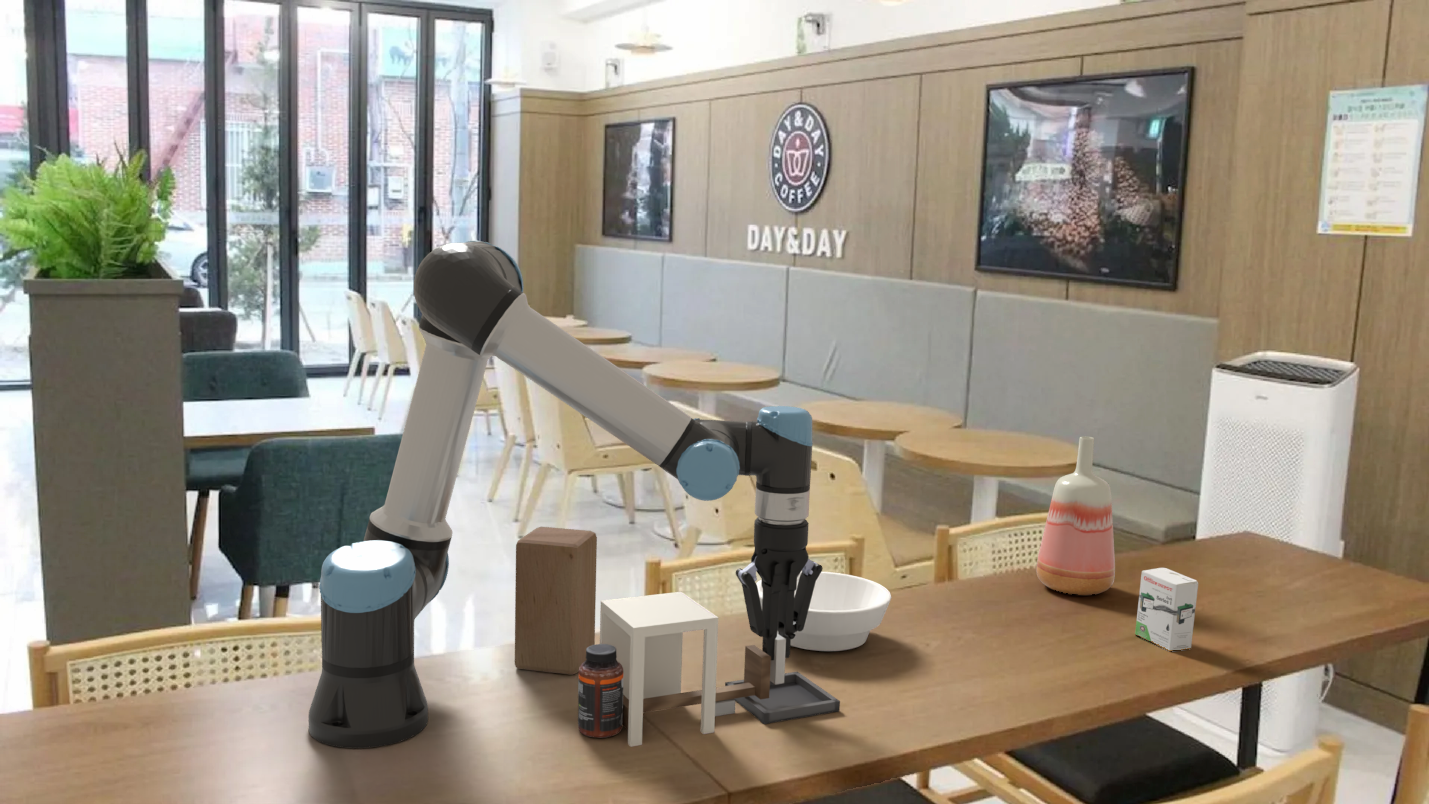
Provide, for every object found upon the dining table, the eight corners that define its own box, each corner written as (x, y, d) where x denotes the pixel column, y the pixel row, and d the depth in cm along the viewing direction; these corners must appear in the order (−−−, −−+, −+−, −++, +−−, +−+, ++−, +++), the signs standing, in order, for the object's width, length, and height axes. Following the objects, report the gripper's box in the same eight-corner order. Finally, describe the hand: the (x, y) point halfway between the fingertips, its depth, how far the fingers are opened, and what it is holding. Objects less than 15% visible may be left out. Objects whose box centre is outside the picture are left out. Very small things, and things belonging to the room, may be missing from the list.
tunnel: (630, 746, 154) (633, 627, 152) (598, 712, 165) (600, 600, 162) (750, 726, 162) (755, 612, 159) (712, 694, 172) (716, 587, 170)
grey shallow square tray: (764, 724, 163) (764, 713, 162) (724, 692, 173) (725, 682, 173) (839, 711, 168) (840, 701, 168) (796, 681, 178) (797, 671, 178)
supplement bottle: (631, 727, 160) (633, 646, 158) (606, 743, 155) (608, 660, 153) (594, 717, 163) (595, 637, 161) (568, 733, 158) (569, 650, 156)
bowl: (733, 650, 191) (735, 599, 190) (775, 610, 212) (777, 564, 211) (871, 672, 183) (874, 620, 182) (901, 628, 204) (903, 581, 203)
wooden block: (576, 677, 177) (578, 546, 174) (512, 670, 179) (513, 540, 176) (596, 654, 187) (598, 529, 184) (535, 648, 188) (536, 524, 186)
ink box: (1133, 635, 205) (1139, 568, 203) (1155, 632, 206) (1161, 566, 205) (1170, 652, 197) (1176, 583, 195) (1193, 649, 199) (1200, 580, 197)
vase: (1116, 585, 234) (1129, 435, 230) (1108, 605, 221) (1122, 447, 217) (1041, 574, 240) (1052, 428, 236) (1029, 593, 227) (1040, 439, 222)
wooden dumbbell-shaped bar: (631, 734, 157) (632, 679, 156) (612, 714, 163) (613, 661, 162) (772, 710, 166) (774, 659, 165) (748, 692, 172) (750, 642, 171)
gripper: (753, 528, 160) (746, 696, 163) (835, 520, 166) (828, 683, 169) (727, 515, 167) (722, 677, 170) (808, 508, 172) (801, 665, 176)
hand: (775, 680), depth 170 cm, fingers closed
